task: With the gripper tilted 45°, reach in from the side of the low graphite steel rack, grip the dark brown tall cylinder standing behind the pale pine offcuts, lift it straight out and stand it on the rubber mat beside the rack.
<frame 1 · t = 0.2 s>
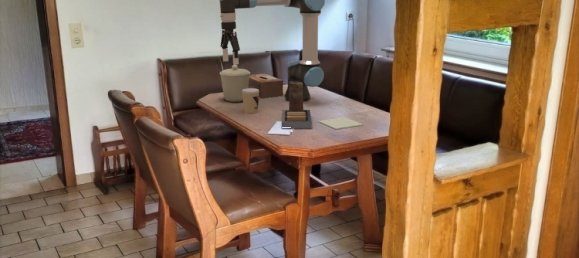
hand: (230, 62, 292), 28 cm above the table, tool pointing down, fingers open, 13 cm apart
offcut rack: (296, 122, 284), on the table
coffee cup: (251, 111, 306), on the table
dark brown tall cylinder: (296, 120, 289), resting in offcut rack
offcut stack: (296, 125, 279), resting in offcut rack
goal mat: (340, 123, 282), on the table
canister: (235, 100, 332), on the table
tissue box cover: (263, 93, 351), on the table
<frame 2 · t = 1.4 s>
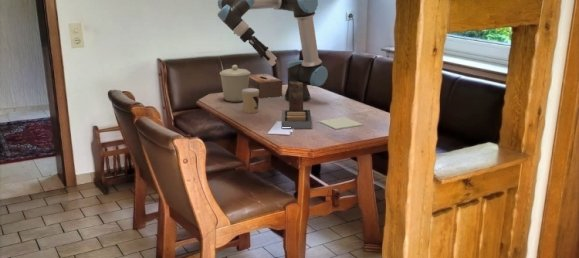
hand: (274, 62, 281), 30 cm above the table, tool tilted 45°, fingers open, 13 cm apart
nothing on the table moved.
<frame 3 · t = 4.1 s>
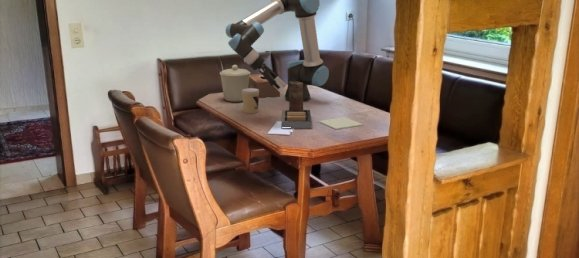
hand: (284, 89, 284), 16 cm above the table, tool tilted 45°, fingers open, 13 cm apart
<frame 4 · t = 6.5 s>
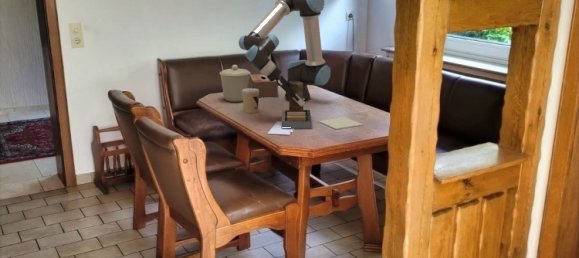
hand: (303, 102, 287), 9 cm above the table, tool tilted 45°, fingers closed on dark brown tall cylinder, 7 cm apart
dark brown tall cylinder: (296, 120, 289), resting in offcut rack, touching gripper
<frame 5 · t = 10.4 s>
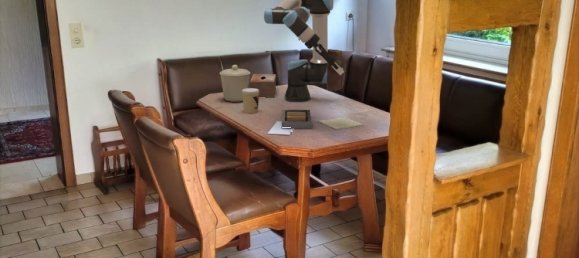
hand: (341, 71, 274), 26 cm above the table, tool tilted 45°, fingers closed on dark brown tall cylinder, 7 cm apart
dark brown tall cylinder: (333, 90, 277), point 17 cm above the table, touching gripper
when the fingers open (11 cm above the table, at t = 14.1 s): dark brown tall cylinder drops 1 cm, resting on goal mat.
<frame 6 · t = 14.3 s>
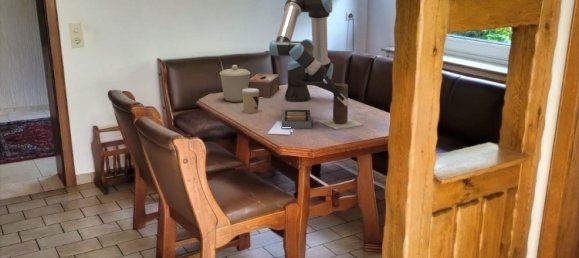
hand: (347, 101, 278), 11 cm above the table, tool tilted 45°, fingers open, 10 cm apart
dark brown tall cylinder: (340, 122, 282), resting on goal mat
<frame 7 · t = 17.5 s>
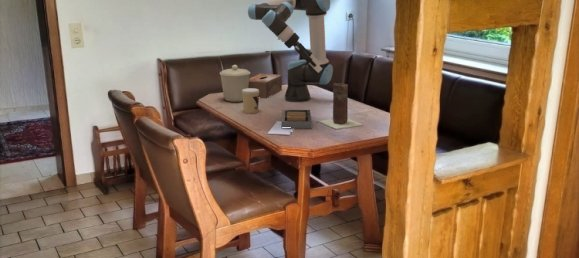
hand: (319, 68, 274), 28 cm above the table, tool tilted 45°, fingers open, 13 cm apart
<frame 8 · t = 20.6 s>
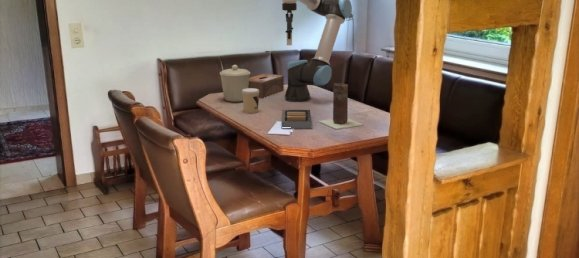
hand: (289, 43, 297), 37 cm above the table, tool pointing down, fingers open, 13 cm apart
at the end: dark brown tall cylinder inside the target area on the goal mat (0.3 cm from its centre), point 0.4 cm above the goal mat's base; dark brown tall cylinder tilted 0°; the gripper is holding nothing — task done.
